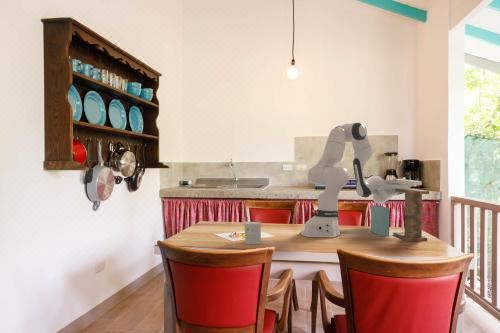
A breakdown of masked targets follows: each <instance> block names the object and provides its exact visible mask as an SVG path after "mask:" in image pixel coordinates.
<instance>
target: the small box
mask: <svg viewBox="0 0 500 333" xmlns="http://www.w3.org/2000/svg"><path fill="white" fill-rule="evenodd" d="M261 226H262V225H261V221H246V222H245V223H244V245H261V242H262V238H261V237H262V236H261V230H262V229H261V228H262V227H261Z"/></svg>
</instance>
